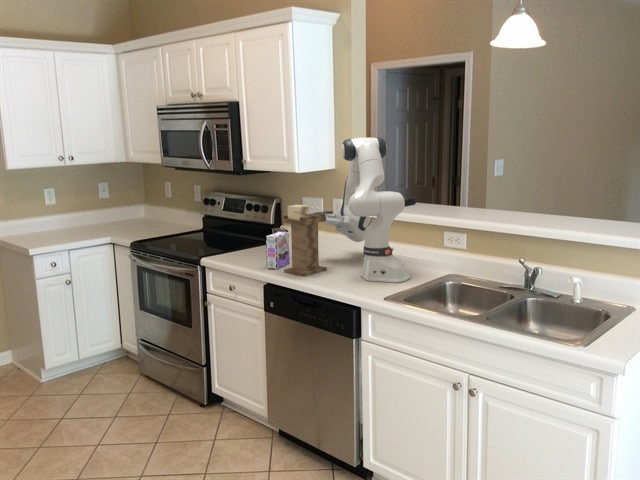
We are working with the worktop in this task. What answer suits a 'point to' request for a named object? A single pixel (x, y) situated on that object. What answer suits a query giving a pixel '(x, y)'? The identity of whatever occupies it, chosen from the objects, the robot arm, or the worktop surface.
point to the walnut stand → (305, 245)
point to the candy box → (277, 250)
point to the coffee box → (279, 230)
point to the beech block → (303, 212)
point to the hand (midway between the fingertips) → (328, 214)
